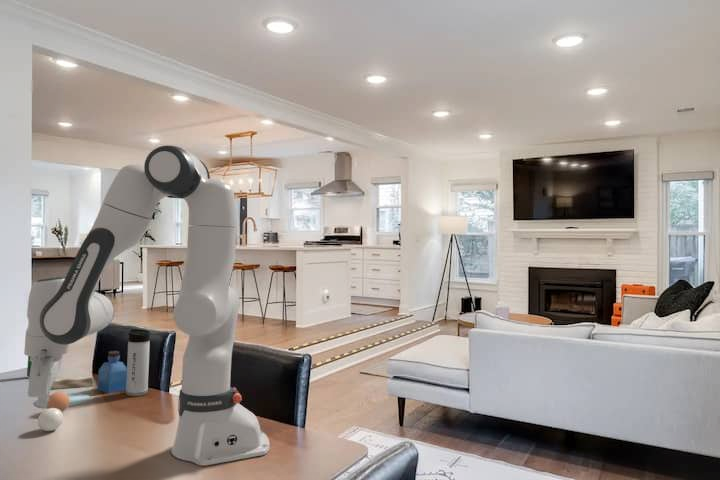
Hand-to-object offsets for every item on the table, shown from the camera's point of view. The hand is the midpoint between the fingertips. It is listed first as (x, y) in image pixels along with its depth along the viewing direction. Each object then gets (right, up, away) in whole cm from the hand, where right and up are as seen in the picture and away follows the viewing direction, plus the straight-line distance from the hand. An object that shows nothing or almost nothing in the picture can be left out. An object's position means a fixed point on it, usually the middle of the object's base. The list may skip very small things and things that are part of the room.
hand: (43, 404), depth 117 cm
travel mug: (+4, -10, +41) cm, 42 cm away
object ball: (-9, -7, +21) cm, 24 cm away
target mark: (-14, -9, +31) cm, 35 cm away
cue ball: (-4, -7, +9) cm, 11 cm away
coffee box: (-36, -9, +55) cm, 66 cm away
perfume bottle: (-6, -10, +44) cm, 45 cm away
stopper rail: (-20, -9, +44) cm, 49 cm away
